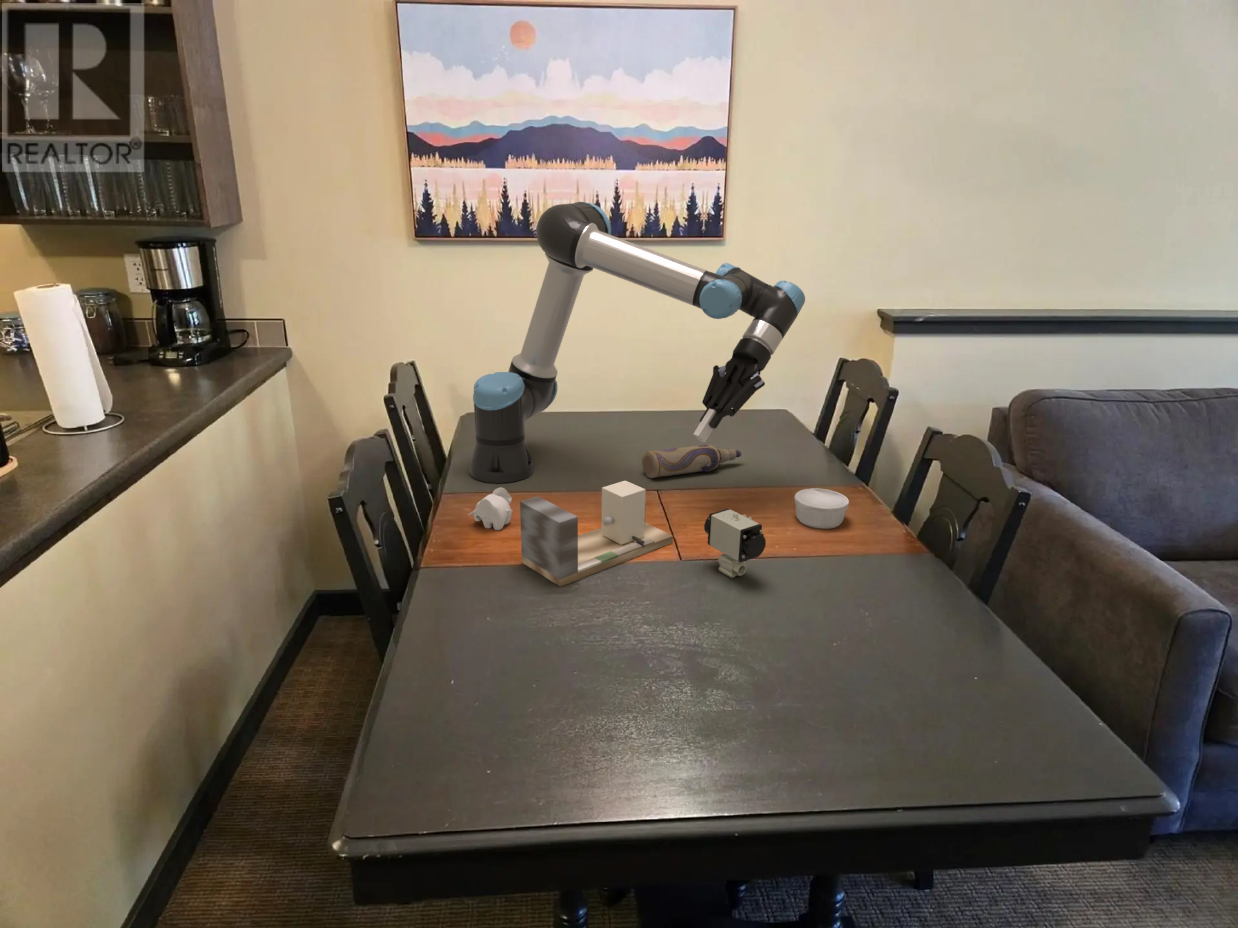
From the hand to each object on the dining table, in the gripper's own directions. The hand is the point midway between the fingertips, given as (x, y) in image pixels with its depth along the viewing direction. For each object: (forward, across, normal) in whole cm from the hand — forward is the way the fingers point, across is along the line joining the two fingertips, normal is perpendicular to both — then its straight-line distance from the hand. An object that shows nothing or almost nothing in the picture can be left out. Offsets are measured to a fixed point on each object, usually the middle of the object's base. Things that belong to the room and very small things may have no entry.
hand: (698, 438), depth 166 cm
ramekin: (-1, -17, -27) cm, 32 cm away
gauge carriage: (+26, -1, +3) cm, 26 cm away
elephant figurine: (+37, +25, +12) cm, 46 cm away
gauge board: (+31, +1, +6) cm, 32 cm away
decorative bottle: (-1, +19, -26) cm, 33 cm away
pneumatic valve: (+22, -21, -4) cm, 31 cm away
